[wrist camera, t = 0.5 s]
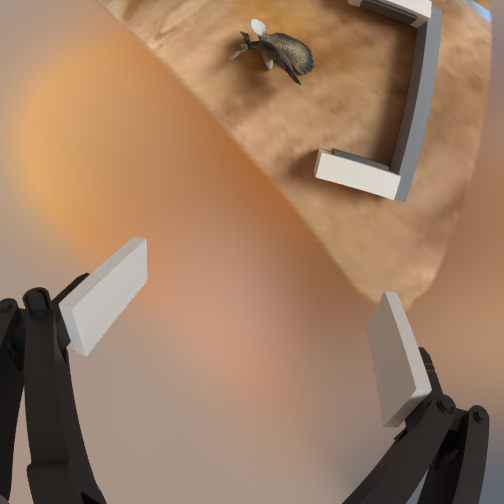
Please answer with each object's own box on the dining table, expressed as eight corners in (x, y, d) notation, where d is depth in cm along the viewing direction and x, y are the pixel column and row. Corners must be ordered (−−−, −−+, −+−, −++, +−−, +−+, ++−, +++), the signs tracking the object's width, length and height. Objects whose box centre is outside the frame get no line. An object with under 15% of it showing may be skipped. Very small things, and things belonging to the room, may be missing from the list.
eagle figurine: (232, 80, 32) (298, 100, 31) (221, 41, 25) (300, 58, 24) (258, 46, 33) (319, 63, 31) (252, 9, 26) (323, 24, 24)
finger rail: (350, -12, 24) (355, -27, 20) (430, 18, 23) (444, 8, 19) (313, 170, 37) (315, 177, 32) (395, 194, 36) (407, 204, 31)
